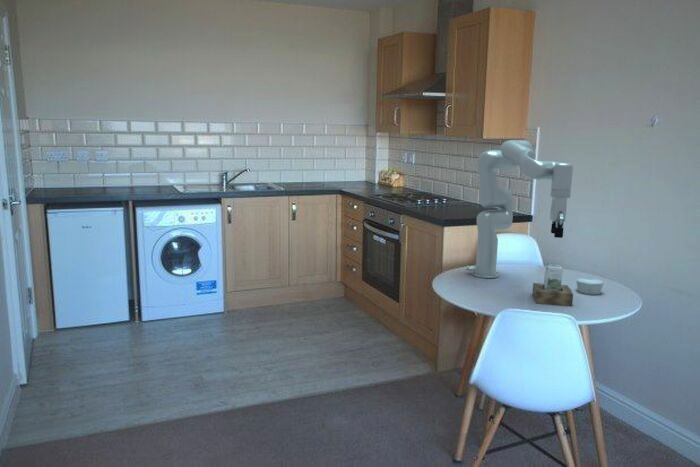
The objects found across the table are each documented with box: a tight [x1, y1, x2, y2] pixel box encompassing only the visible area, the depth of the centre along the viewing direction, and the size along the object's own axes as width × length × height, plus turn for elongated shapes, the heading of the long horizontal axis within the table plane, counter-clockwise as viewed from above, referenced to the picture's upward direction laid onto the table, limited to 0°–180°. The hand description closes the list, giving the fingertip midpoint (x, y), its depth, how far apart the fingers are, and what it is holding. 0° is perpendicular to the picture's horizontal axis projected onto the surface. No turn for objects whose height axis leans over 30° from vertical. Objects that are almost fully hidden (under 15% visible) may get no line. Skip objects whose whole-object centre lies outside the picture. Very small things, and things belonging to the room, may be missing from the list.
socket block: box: [532, 282, 574, 307], centre depth 243 cm, size 14×14×5 cm
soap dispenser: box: [543, 264, 563, 291], centre depth 242 cm, size 6×6×14 cm
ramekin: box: [575, 277, 604, 296], centre depth 257 cm, size 11×11×5 cm
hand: (556, 235), depth 239 cm, fingers open, 9 cm apart
